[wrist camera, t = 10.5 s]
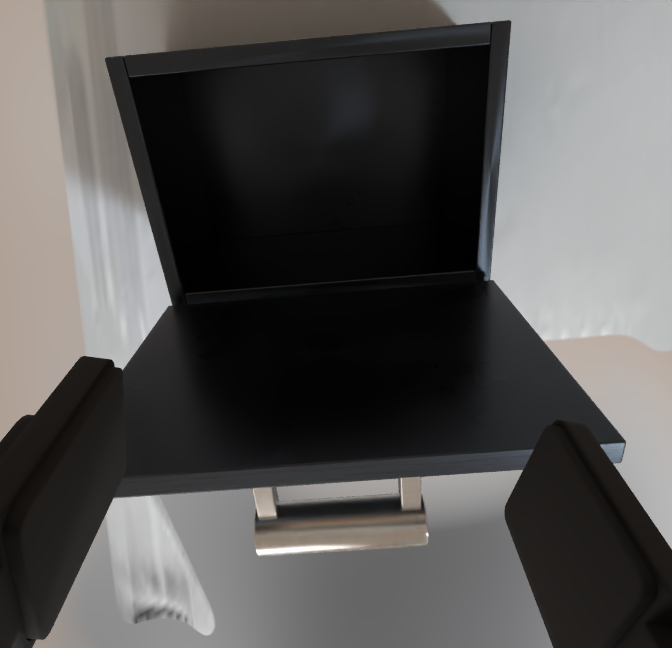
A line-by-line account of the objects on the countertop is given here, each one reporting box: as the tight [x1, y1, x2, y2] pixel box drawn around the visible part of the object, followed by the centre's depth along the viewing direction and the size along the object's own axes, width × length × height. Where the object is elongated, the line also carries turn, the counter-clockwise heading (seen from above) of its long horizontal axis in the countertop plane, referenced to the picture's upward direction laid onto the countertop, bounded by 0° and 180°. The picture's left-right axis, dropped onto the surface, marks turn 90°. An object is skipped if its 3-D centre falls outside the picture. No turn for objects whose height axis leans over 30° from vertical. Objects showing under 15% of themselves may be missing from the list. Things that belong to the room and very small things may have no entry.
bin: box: [105, 20, 511, 305], centre depth 26 cm, size 12×17×9 cm
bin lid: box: [114, 280, 626, 556], centre depth 21 cm, size 12×17×6 cm
